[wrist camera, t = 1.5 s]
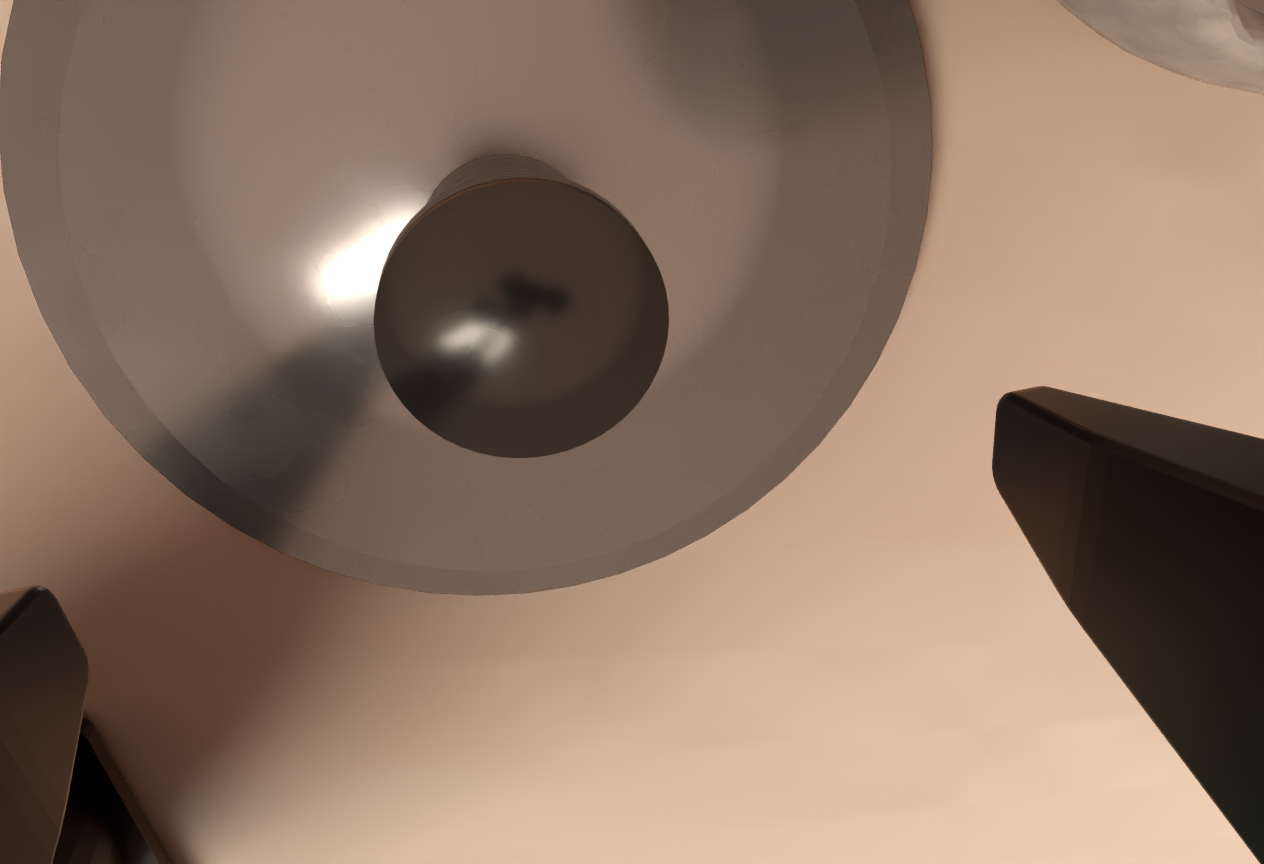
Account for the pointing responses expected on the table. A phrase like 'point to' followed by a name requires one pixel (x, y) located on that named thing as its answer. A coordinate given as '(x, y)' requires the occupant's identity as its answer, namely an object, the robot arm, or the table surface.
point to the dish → (1186, 36)
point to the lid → (469, 259)
